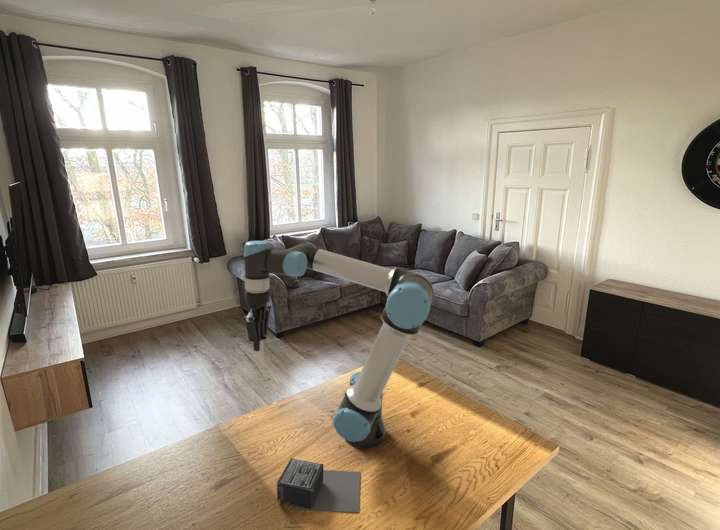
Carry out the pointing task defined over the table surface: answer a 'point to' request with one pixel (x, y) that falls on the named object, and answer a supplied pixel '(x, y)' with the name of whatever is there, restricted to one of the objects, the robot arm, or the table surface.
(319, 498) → the mat
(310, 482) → the small box
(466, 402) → the table surface
